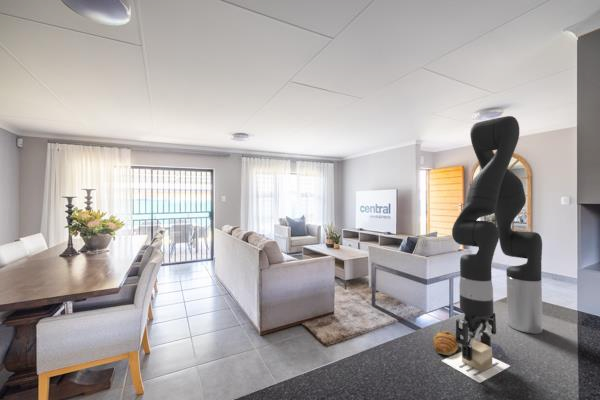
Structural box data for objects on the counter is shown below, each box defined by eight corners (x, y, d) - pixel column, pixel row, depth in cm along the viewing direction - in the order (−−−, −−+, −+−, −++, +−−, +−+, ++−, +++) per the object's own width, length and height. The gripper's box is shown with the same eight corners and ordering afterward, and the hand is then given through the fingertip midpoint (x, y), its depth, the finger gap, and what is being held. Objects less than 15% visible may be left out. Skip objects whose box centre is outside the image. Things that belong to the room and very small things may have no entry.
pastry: (456, 361, 72) (456, 347, 72) (429, 353, 76) (429, 340, 76) (459, 345, 80) (459, 333, 80) (435, 339, 84) (434, 327, 84)
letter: (471, 347, 78) (471, 347, 78) (510, 366, 69) (510, 365, 69) (441, 360, 72) (441, 360, 72) (479, 383, 63) (479, 382, 63)
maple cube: (492, 366, 69) (492, 347, 69) (481, 372, 67) (481, 352, 67) (472, 356, 74) (472, 338, 74) (461, 361, 71) (461, 343, 71)
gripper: (474, 304, 64) (476, 370, 64) (506, 294, 70) (507, 354, 70) (445, 294, 71) (446, 354, 70) (476, 286, 77) (477, 341, 77)
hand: (476, 354), depth 70 cm, fingers open, 8 cm apart
